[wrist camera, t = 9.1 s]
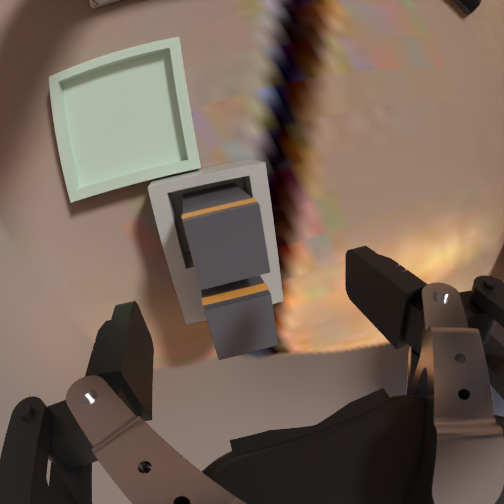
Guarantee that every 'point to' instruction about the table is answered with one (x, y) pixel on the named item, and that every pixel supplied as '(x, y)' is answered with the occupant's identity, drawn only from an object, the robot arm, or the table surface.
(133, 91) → the tray
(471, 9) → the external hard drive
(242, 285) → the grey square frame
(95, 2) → the packaged product
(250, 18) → the table surface
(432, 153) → the table surface
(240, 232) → the plug
